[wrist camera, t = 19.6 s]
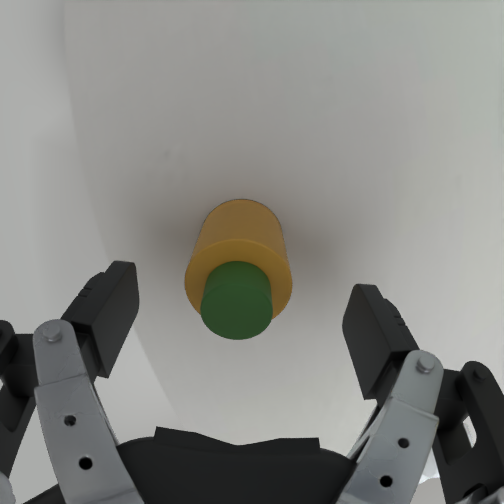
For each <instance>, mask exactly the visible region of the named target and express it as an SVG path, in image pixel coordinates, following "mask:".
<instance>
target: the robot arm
mask: <svg viewBox="0 0 504 504" xmlns="http://www.w3.org/2000/svg"><path fill="white" fill-rule="evenodd" d="M138 309H139V291H138V282H137V273H136V266H135V264H134V263H133V262H124V261H113V262H112V264H111V265H110V266H109V268H108V269H107V270H106V272H105V273H104V272H100V273H99V274H97V275H95V276H94V277H92V278H91V279H90V280H89V281H88V282H87V283H86V285H85V286H84V288H83V289H82V290H81V291H80V293H79V294H78V296H77V297H76V298H75V299H74V300H73V302H72V303H71V305H70V306H69V307H68V309H67V310H66V312H65V313H64V314H63V315H62V317H61V319H55V320H50V321H47V322H44V323H43V324H41V325H40V326H39V327H38V328H37V329H36V330H35V332H34V334H15V332H14V329H13V327H12V325H11V324H10V323H9V322H8V321H4V320H0V379H1V380H2V382H3V386H2V388H1V390H0V504H15V502H16V500H15V496H14V495H13V493H12V492H13V491H12V486H11V483H10V482H9V480H8V479H9V476H10V473H11V470H12V467H13V464H14V461H15V458H16V455H17V452H18V449H19V447H20V444H21V441H22V439H23V436H24V433H25V431H26V428H27V426H28V423H29V421H30V418H31V416H32V414H33V411H34V409H35V407H36V405H37V410H38V414H39V419H40V423H41V427H42V431H43V435H44V439H45V443H46V446H47V450H48V453H49V456H50V460H51V463H52V466H53V469H54V472H55V475H56V478H57V481H58V484H56V485H55V486H53V487H51V488H50V489H48V490H46V491H44V492H43V493H41V494H39V495H38V496H36V497H34V498H32V499H30V500H29V501H27V502H25V503H23V504H410V502H411V500H412V498H413V495H414V493H415V491H416V488H417V486H418V483H419V481H420V478H421V476H422V473H423V470H424V468H425V465H426V462H427V459H428V456H429V453H430V450H431V447H432V450H433V454H434V457H435V461H436V465H437V468H438V472H439V476H440V480H441V484H442V488H443V493H444V497H445V501H446V504H504V395H503V393H502V391H501V389H500V387H499V385H498V384H497V382H496V380H495V378H494V376H493V374H492V373H491V371H490V370H489V369H488V368H487V367H486V366H485V365H483V364H482V363H480V362H477V361H469V362H467V363H465V365H464V366H463V368H462V369H461V371H460V372H459V371H454V370H448V369H443V366H442V364H441V362H440V361H439V359H438V358H437V357H436V356H434V355H433V354H431V353H429V352H427V351H423V350H420V349H419V347H418V345H417V343H416V342H415V340H414V338H413V336H412V334H411V333H410V331H409V329H408V327H407V326H405V322H404V320H403V318H401V315H400V313H399V311H398V310H397V308H396V307H395V306H394V305H393V304H392V303H391V302H390V301H389V300H387V299H384V298H383V297H382V295H381V293H380V291H379V290H378V288H377V286H376V285H368V284H355V286H354V287H353V290H352V293H351V296H350V299H349V302H348V305H347V308H346V311H345V314H344V317H343V323H342V329H343V334H344V337H345V340H346V343H347V346H348V349H349V353H350V356H351V359H352V362H353V365H354V368H355V372H356V375H357V378H358V381H359V385H360V388H361V391H362V395H363V398H364V400H368V399H376V400H377V403H378V404H377V405H376V407H375V408H374V410H373V412H372V414H371V415H370V417H369V419H368V421H367V423H366V425H365V427H364V428H363V430H362V432H361V434H360V436H359V437H358V439H357V441H356V443H355V444H354V446H353V447H352V449H351V450H350V452H349V453H348V455H347V456H346V457H345V456H343V455H341V454H339V453H336V452H334V451H330V450H327V449H323V448H320V444H319V438H279V439H274V440H269V441H264V442H258V443H253V444H247V445H233V444H230V443H226V442H223V441H220V440H217V439H214V438H210V437H207V436H204V435H202V434H199V433H196V432H188V431H181V430H175V429H168V428H163V427H156V431H155V435H154V437H144V438H138V439H134V440H130V441H127V442H125V443H122V444H120V443H119V441H118V439H117V437H116V435H115V433H114V431H113V429H112V427H111V425H110V423H109V420H108V418H107V416H106V413H105V411H104V408H103V406H102V404H101V401H100V399H99V396H98V393H97V391H96V388H95V386H94V381H95V379H96V377H97V376H99V377H104V378H109V375H110V373H111V371H112V368H113V366H114V364H115V362H116V359H117V357H118V354H119V352H120V350H121V348H122V345H123V343H124V341H125V339H126V337H127V335H128V333H129V330H130V328H131V326H132V324H133V322H134V320H135V318H136V316H137V313H138ZM468 416H470V419H471V421H472V424H473V426H474V429H475V431H476V436H477V438H476V443H475V445H474V446H473V448H472V446H471V443H470V441H469V438H468V435H467V432H466V430H465V427H464V424H463V421H464V420H465V419H466V418H467V417H468Z"/></svg>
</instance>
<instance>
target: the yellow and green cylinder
mask: <svg viewBox="0 0 504 504" xmlns="http://www.w3.org/2000/svg"><path fill="white" fill-rule="evenodd" d="M185 290H186V294H187V296H188V299H189V301H190V303H191V304H192V306H193V307H194V308H195V310H196V311H197V312H198V313H199V314H200V315H201V317H202V320H203V322H204V323H205V325H206V326H207V327H208V328H209V329H210V330H211V331H212V332H214V333H215V334H217V335H219V336H221V337H224V338H228V339H234V340H242V339H248V338H252V337H254V336H256V335H258V334H260V333H261V332H263V331H264V330H265V329H266V328H267V327H268V325H269V324H270V322H271V320H272V319H274V318H275V317H276V316H277V315H278V314H280V313H281V311H282V310H283V309H284V308H285V306H286V305H287V303H288V301H289V299H290V296H291V293H292V277H291V272H290V267H289V262H288V257H287V253H286V248H285V244H284V239H283V234H282V230H281V226H280V223H279V221H278V219H277V218H276V216H275V215H274V214H273V213H272V212H271V211H270V210H269V209H268V208H267V207H265V206H264V205H262V204H260V203H258V202H255V201H251V200H243V199H239V200H232V201H228V202H225V203H223V204H221V205H219V206H218V207H216V208H215V209H214V210H213V211H212V212H211V213H210V214H209V215H208V217H207V218H206V220H205V222H204V224H203V227H202V230H201V232H200V235H199V237H198V240H197V243H196V245H195V248H194V251H193V254H192V256H191V259H190V262H189V264H188V267H187V270H186V274H185Z"/></svg>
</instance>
